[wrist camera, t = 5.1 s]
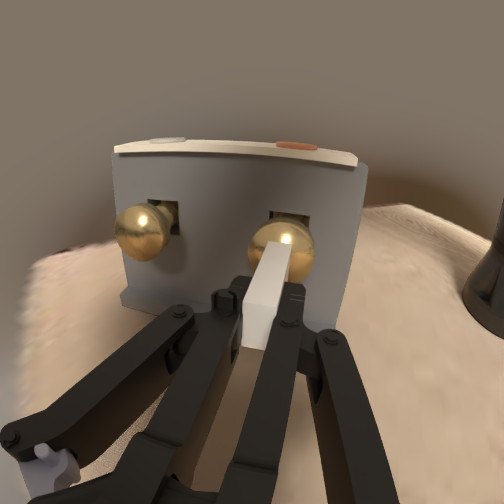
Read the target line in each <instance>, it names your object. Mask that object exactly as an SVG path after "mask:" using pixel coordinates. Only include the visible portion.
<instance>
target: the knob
mask: <svg viewBox="0 0 504 504" xmlns="http://www.w3.org/2000/svg"><path fill="white" fill-rule="evenodd" d="M176 224H179V206H178V201H168V200H161V204H159V205H157V206H154V205H152V204H149V203H138V204H135V205H134V206H132V207H130V208H128V209H126V210H124V211H123V212H121V213H120V214H119V216H118V217H117V219H116V222H115V236H116V239H117V242H118V244H119V246H120V247H121V249H122V250H123V251H124V252H125V254H127V255H128V256H129V257H130V258H132V259H134V260H136V261H140V262H147V261H150V260H152V259H154V258H155V257H156V256H157V255H158V254H159V253H160V252H161V251H163V250H164V249H165V248H166V246H167V245H168V243H169V240H170V228H172V227H173V226H174V225H176Z"/></svg>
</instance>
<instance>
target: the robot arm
mask: <svg viewBox="0 0 504 504" xmlns="http://www.w3.org/2000/svg"><path fill="white" fill-rule="evenodd" d="M291 250H292V244H286V243H279V242H272V241H268V243H267V246H266V248H265V250H264V253H263V255H262V257H261V260H260V262H259V264H258V267H257V269H256V271H255V274H254V276H253V277H248V276H241V275H239V276H237V277H236V278H234V279H233V280H232V282H231V284H230V286H229V288H228V289H218V290H216V291H214V292H213V293H212V294H211V305H212V309H211V311H210V312H205V313H194V310H193V309H192V307H190V306H188V305H185V304H177V305H173V306H171V307H169V308H168V309H167V310H165V311H164V312H163V313H162V314H160V315H159V316H158V317H157V318H156V319H154V320H153V321H152V322H151V323H149V324H148V325H147V326H146V327H144V328H143V329H142V330H141V331H140V332H138V333H137V334H136V335H135V336H133V337H132V338H131V339H130V340H129V341H127V342H126V343H125V344H124V345H122V346H121V347H120V348H119V349H118V350H116V351H115V352H114V353H113V354H112V355H110V356H109V357H108V358H107V359H105V360H104V361H103V362H102V363H101V364H99V365H98V366H97V367H96V368H95V369H93V370H92V371H91V372H90V373H89V374H87V375H86V376H85V377H84V378H83V379H81V380H80V381H79V382H78V383H76V384H75V385H74V386H73V387H72V388H70V389H69V390H68V391H67V392H66V393H64V394H63V395H62V396H61V397H60V398H58V399H57V400H56V401H55V402H54V403H53V404H51V405H50V406H49V407H48V408H47V409H45V410H43V411H40V412H38V413H35V414H33V415H30V416H27V417H25V418H22V419H19V420H17V421H14V422H11V423H8V424H7V425H5V426H4V427H3V428H2V430H1V432H0V443H1V446H2V447H3V448H4V449H5V450H6V451H7V452H8V453H9V454H10V455H11V456H13V457H14V458H15V459H16V460H17V461H18V463H19V466H20V469H21V472H22V475H23V478H24V481H25V483H26V486H27V488H28V491H29V493H30V496H31V498H32V500H30V501H29V502H28V503H27V504H271V502H272V497H273V493H274V489H275V485H276V480H277V476H278V467H279V462H280V457H281V452H282V447H283V442H284V437H285V432H286V427H287V422H288V416H289V411H290V405H291V399H292V393H293V387H294V381H295V375H296V371H297V372H299V373H302V374H304V375H306V380H307V386H308V391H309V396H310V401H311V407H312V412H313V418H314V423H315V429H316V434H317V440H318V446H319V452H320V458H321V464H322V470H323V476H324V482H325V488H326V495H327V501H328V504H400V503H399V500H398V496H397V492H396V488H395V485H394V481H393V477H392V474H391V470H390V467H389V463H388V460H387V456H386V453H385V450H384V446H383V443H382V440H381V437H380V433H379V430H378V427H377V424H376V421H375V418H374V415H373V412H372V409H371V406H370V403H369V400H368V397H367V394H366V391H365V388H364V386H363V383H362V380H361V377H360V374H359V372H358V369H357V366H356V363H355V361H354V358H353V355H352V353H351V350H350V347H349V345H348V342H347V339H346V337H345V336H344V334H342V333H341V332H340V331H337V330H335V329H323V330H321V331H320V332H319V333H317V332H314V331H312V330H310V329H309V328H307V327H306V326H305V325H304V323H303V312H304V304H305V295H306V289H305V287H304V285H303V284H298V283H291V282H288V274H289V266H290V258H291ZM462 296H463V300H464V303H465V305H466V307H467V308H468V310H469V311H470V313H471V314H472V315H473V316H474V317H475V318H476V319H477V320H478V321H479V322H480V323H481V324H482V325H483V326H484V327H486V328H487V329H488V330H490V331H491V332H493V333H494V334H496V335H498V336H499V337H501V338H504V200H503V204H502V209H501V212H500V216H499V220H498V224H497V228H496V231H495V235H494V238H493V241H492V244H491V247H490V249H489V250H488V252H487V253H486V254H485V256H484V257H483V259H482V260H481V261H480V263H479V264H478V265H477V267H476V268H475V269H474V271H473V272H472V273H471V274H470V276H469V277H468V279H467V282H466V284H465V287H464V289H463V292H462ZM240 342H241V346H244V347H249V348H254V349H260V350H265V352H264V356H263V359H262V363H261V367H260V370H259V374H258V377H257V381H256V384H255V388H254V391H253V394H252V398H251V401H250V405H249V408H248V411H247V415H246V418H245V421H244V424H243V428H242V431H241V434H240V437H239V440H238V444H237V447H236V450H235V453H234V456H233V459H232V460H231V462H230V463H229V465H228V468H227V470H226V473H225V476H224V479H223V482H222V485H221V488H220V491H219V493H216V492H200V491H194V490H192V489H190V488H191V485H192V481H193V474H194V470H195V467H196V464H197V462H198V459H199V457H200V454H201V452H202V449H203V447H204V444H205V441H206V439H207V436H208V434H209V431H210V429H211V426H212V423H213V421H214V418H215V415H216V413H217V410H218V408H219V405H220V402H221V400H222V397H223V394H224V392H225V389H226V386H227V384H228V381H229V378H230V376H231V373H232V370H233V367H234V365H235V362H236V359H237V356H238V354H239V344H240ZM168 386H169V387H168ZM167 387H168V389H167V391H166V393H165V394H164V396H163V398H162V400H161V402H160V404H159V405H158V407H157V409H156V411H155V413H154V415H153V416H152V418H151V420H150V422H149V424H148V426H147V427H146V429H145V430H144V431H143V432H137V433H136V434H135V435H134V436H133V437H132V439H131V440H130V442H129V444H128V446H127V447H126V449H125V451H124V453H123V455H122V456H121V458H120V460H119V462H118V464H117V465H116V467H115V469H114V471H113V472H110V473H108V474H105V475H103V476H100V477H98V478H95V479H92V480H89V481H87V482H84V483H81V484H78V485H75V486H72V487H70V485H72V484H73V483H78V482H79V481H80V480H81V476H80V469H82V468H84V467H86V466H87V465H89V464H90V463H92V462H93V461H95V460H96V459H97V458H98V457H99V456H100V455H102V454H103V453H104V452H105V451H106V450H107V449H108V448H109V447H110V446H111V445H112V444H113V443H114V442H115V441H116V440H117V439H118V438H119V437H120V436H121V435H122V434H123V433H124V432H125V431H126V430H127V429H128V428H129V427H130V426H131V425H132V424H133V423H134V422H135V421H136V420H137V419H138V418H139V416H140V415H141V414H142V413H143V412H144V411H145V410H146V409H147V408H148V407H149V406H150V405H151V404H152V403H153V402H154V401H155V400H156V399H157V398H158V397H159V396H160V395H161V394H162V393H163V392H164V391H165V389H166V388H167Z"/></svg>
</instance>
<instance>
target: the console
mask: <svg viewBox="0 0 504 504" xmlns="http://www.w3.org/2000/svg"><path fill="white" fill-rule="evenodd" d="M111 154H112V171H113V183H114V195H115V205H116V213H117V217H118V216H119V214H120V213H121V212H123V211H124V210H126V209H128V208H130V207H132V206H134V205H135V204H138V203H149V204H152V205H154V206H157V205H159V204H161V200H168V201H178V206H179V224H176V225H174V226H173V227H172V228H170V240H169V243H168V245H167V246H166V248H165V249H164V250H163V251H161V252H160V253H159V254H158V255H157V256H156V257H155V258H154V259H152V260H150V261H147V262H140V261H136V260H134V259H132V258H130V257H129V256H128V255H127V254H125V252H124V251H123V250H122V255H123V261H124V267H125V272H126V277H127V282H128V287H127V288H126V289H125V290H124V291H123V292H122V293H121V294H120V298H121V302H122V306H125V307H129V308H132V309H136V310H139V311H143V312H147V313H150V314H154V315H158V316H159V315H160V314H162V313H163V312H164V311H165V310H167V309H168V308H169V307H171V306H173V305H177V304H185V305H188V306H190V307H192V309H193V310H194V313H205V312H210V311H211V309H212V305H211V294H212V293H213V292H214V291H216V290H218V289H228V288H229V286H230V284H231V282H232V280H233V279H234V278H236V277H237V276H239V275H241V276H248V277H253V276H254V274H255V272H254V271H253V269H252V268H251V265H250V263H249V260H248V248H249V244H250V242H251V240H252V238H253V236H254V235H255V233H256V231H257V230H258V228H259V227H260V226H261V225H262V224H263V223H265V222H266V221H268V220H270V219H273V211H276V212H284V213H292V214H300V215H307V216H310V221H309V229H308V230H309V231H310V232H311V234H312V236H313V239H314V243H315V254H314V264H313V267H312V269H311V271H310V273H309V274H308V275H307V276H306V277H305V278H304V279H303V280H301V281H300V282H298V284H303V285H304V287H305V289H306V295H305V304H304V312H303V323H304V325H305V326H306V327H307V328H309V329H310V330H312V331H314V332H317V333H319V332H320V331H321V330H323V329H335V325H336V321H337V317H338V314H339V310H340V307H341V303H342V299H343V295H344V291H345V287H346V283H347V279H348V275H349V271H350V266H351V262H352V258H353V253H354V248H355V244H356V239H357V234H358V229H359V223H360V218H361V213H362V207H363V201H364V195H365V189H366V182H367V175H368V166H366V165H365V164H364V163H361V162H358V158H357V157H355V156H354V155H353V154H352V153H348V152H342V151H336V150H328V149H321V148H318V146H316V145H312V144H306V143H297V142H276V144H275V143H262V142H246V141H245V142H244V141H223V140H186V138H185V137H168V138H156V139H151V140H150V141H137V142H132V143H127V144H122V145H118V146H115V147H114V152H111Z"/></svg>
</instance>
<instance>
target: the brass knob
mask: <svg viewBox="0 0 504 504" xmlns="http://www.w3.org/2000/svg"><path fill="white" fill-rule="evenodd" d="M309 221H310V216H307V215H300V214H292V213H284V212H276V211H273V219H270V220H268V221H266V222H265V223H263V224H262V225H261V226H260V227H259V228H258V230H257V231H256V233H255V235H254V236H253V238H252V240H251V242H250V244H249V248H248V260H249V263H250V265H251V268H252V269H253V271H254V272H255V271H256V269H257V267H258V264H259V262H260V260H261V257H262V255H263V253H264V250H265V248H266V246H267V243H268V241H272V242H279V243H286V244H292V250H291V258H290V266H289V274H288V282H291V283H298V282H300V281H301V280H303V279H304V278H305V277H306V276H307V275H308V274H309V273H310V271H311V269H312V267H313V264H314V254H315V243H314V239H313V236H312V234H311V232H310V231H309V230H308V229H309Z"/></svg>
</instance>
